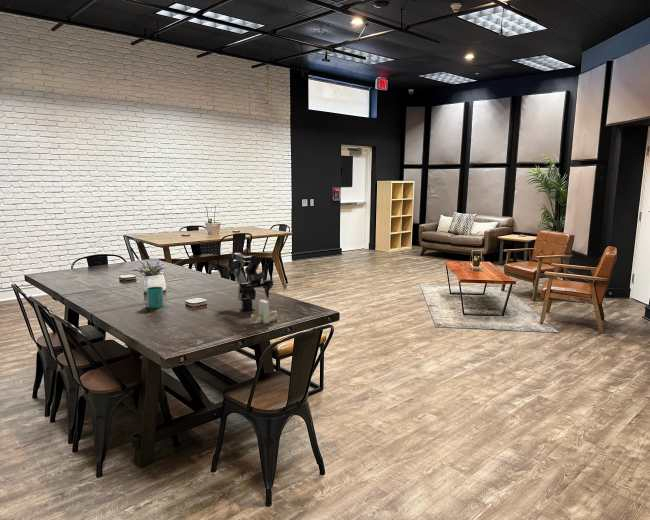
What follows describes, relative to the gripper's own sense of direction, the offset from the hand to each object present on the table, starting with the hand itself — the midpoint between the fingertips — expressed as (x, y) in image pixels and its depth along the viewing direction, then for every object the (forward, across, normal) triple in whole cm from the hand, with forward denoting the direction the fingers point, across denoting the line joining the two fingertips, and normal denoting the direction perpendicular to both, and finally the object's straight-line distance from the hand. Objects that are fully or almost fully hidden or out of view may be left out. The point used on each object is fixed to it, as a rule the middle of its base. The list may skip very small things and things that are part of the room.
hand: (260, 299), depth 258 cm
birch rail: (+12, 0, +3) cm, 12 cm away
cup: (-29, -47, +44) cm, 71 cm away
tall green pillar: (+12, 0, +3) cm, 12 cm away
